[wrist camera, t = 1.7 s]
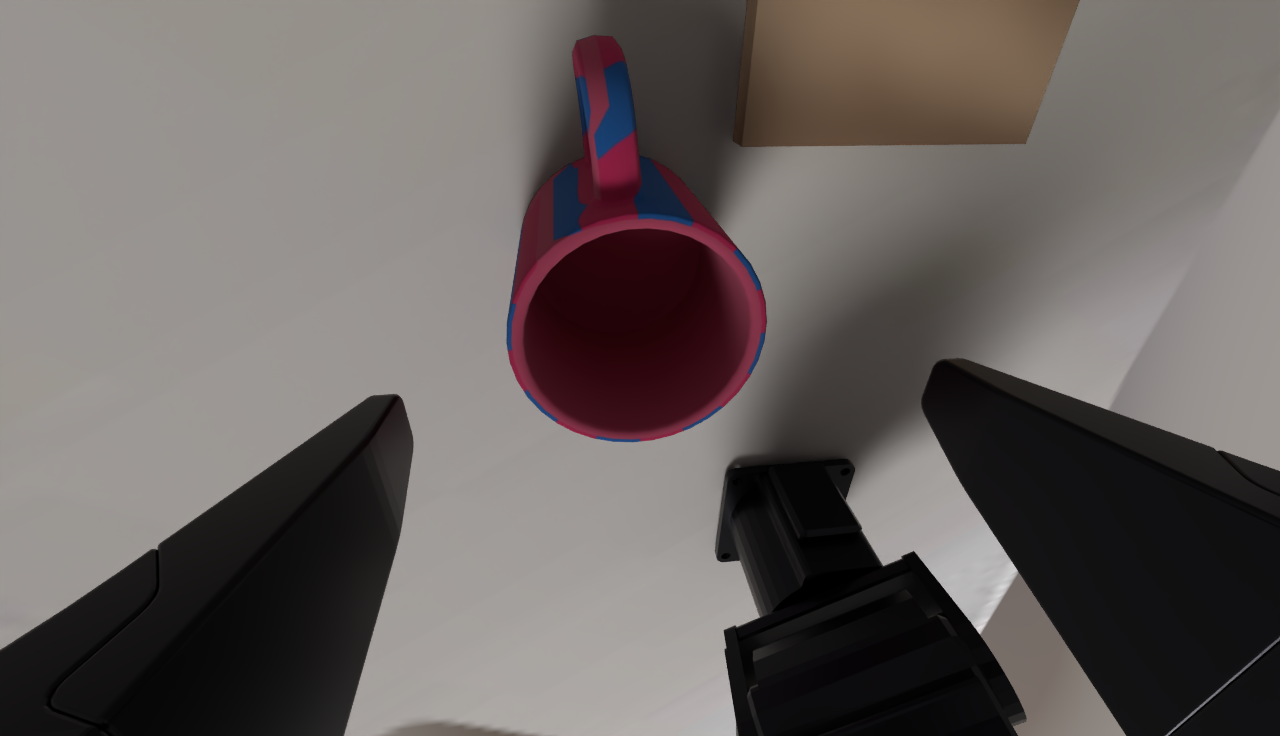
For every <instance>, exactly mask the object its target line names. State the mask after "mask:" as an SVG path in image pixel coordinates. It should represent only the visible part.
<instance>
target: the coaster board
mask: <svg viewBox="0 0 1280 736" xmlns="http://www.w3.org/2000/svg"><path fill="white" fill-rule="evenodd" d="M1079 1H1080V0H747V8H746V18H745V28H744V38H743V48H742V58H741V68H740V78H739V87H738V97H737V107H736V117H735V127H734V137H733V141H734V142H735V143H737V144H738V145H740V146H742V147H763V146H856V145H949V144H1026V141H1027V139H1028V136H1029V133H1030V131H1031V128H1032V125H1033V123H1034V120H1035V117H1036V115H1037V112H1038V109H1039V107H1040V104H1041V101H1042V99H1043V96H1044V93H1045V91H1046V88H1047V86H1048V83H1049V80H1050V78H1051V75H1052V72H1053V70H1054V67H1055V64H1056V62H1057V59H1058V56H1059V54H1060V51H1061V48H1062V46H1063V43H1064V40H1065V38H1066V35H1067V33H1068V30H1069V27H1070V25H1071V22H1072V19H1073V17H1074V14H1075V11H1076V9H1077V6H1078V3H1079Z"/></svg>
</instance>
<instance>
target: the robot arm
mask: <svg viewBox="0 0 1280 736" xmlns="http://www.w3.org/2000/svg"><path fill="white" fill-rule="evenodd" d="M921 405H922V410H923V413H924V415H925V416H926V418H927V420H928V422H929V424H930V426H931V428H932V430H933V432H934V434H935V436H936V438H937V440H938V441H939V443H940V445H941V447H942V449H943V451H944V453H945V455H946V457H947V459H948V461H949V463H950V464H951V466H952V468H953V470H954V472H955V474H956V476H957V477H958V479H959V481H960V483H961V484H962V486H963V488H964V489H965V491H966V492H967V494H968V496H969V497H970V499H971V500H972V502H973V503H974V505H975V506H976V508H977V509H978V511H979V512H980V514H981V515H982V517H983V518H984V520H985V521H986V523H987V524H988V526H989V528H990V529H991V531H992V532H993V534H994V535H995V537H996V538H997V540H998V541H999V543H1000V544H1001V546H1002V547H1003V549H1004V550H1005V552H1006V553H1007V555H1008V556H1009V558H1010V559H1011V561H1012V562H1013V564H1014V566H1015V567H1016V569H1017V570H1018V572H1019V573H1020V575H1021V576H1022V578H1023V579H1024V581H1025V582H1026V584H1027V585H1028V587H1029V588H1030V590H1031V591H1032V593H1033V594H1034V596H1035V597H1036V599H1037V601H1038V602H1039V603H1040V605H1041V607H1042V608H1043V610H1044V611H1045V613H1046V614H1047V616H1048V617H1049V619H1050V620H1051V622H1052V623H1053V625H1054V626H1055V628H1056V629H1057V631H1058V632H1059V634H1060V635H1061V637H1062V639H1063V640H1064V641H1065V643H1066V645H1067V646H1068V648H1069V649H1070V651H1071V652H1072V653H1073V655H1074V657H1075V658H1076V660H1077V661H1078V663H1079V664H1080V666H1081V667H1082V669H1083V670H1084V672H1085V673H1086V675H1087V676H1088V678H1089V680H1090V681H1091V683H1092V684H1093V686H1094V687H1095V689H1096V690H1097V692H1098V693H1099V695H1100V696H1101V698H1102V699H1103V701H1104V702H1105V704H1106V705H1107V707H1108V708H1109V710H1110V711H1111V713H1112V714H1113V716H1114V718H1115V719H1116V721H1117V722H1118V724H1119V725H1120V727H1121V728H1122V730H1123V731H1124V733H1125V734H1126V736H1280V471H1278V470H1275V469H1272V468H1269V467H1267V466H1263V465H1261V464H1258V463H1255V462H1252V461H1249V460H1246V459H1244V458H1241V457H1238V456H1235V455H1232V454H1230V453H1227V452H1224V451H1216V450H1215V449H1214V448H1212V447H1210V446H1207V445H1204V444H1202V443H1198V442H1195V441H1193V440H1190V439H1188V438H1185V437H1182V436H1179V435H1176V434H1173V433H1171V432H1168V431H1165V430H1162V429H1160V428H1156V427H1154V426H1151V425H1148V424H1146V423H1142V422H1140V421H1137V420H1134V419H1131V418H1129V417H1126V416H1123V415H1120V414H1118V413H1115V412H1112V411H1109V410H1106V409H1104V408H1101V407H1098V406H1095V405H1092V404H1090V403H1087V402H1084V401H1081V400H1078V399H1076V398H1073V397H1070V396H1067V395H1064V394H1062V393H1059V392H1056V391H1053V390H1050V389H1048V388H1045V387H1042V386H1039V385H1036V384H1034V383H1031V382H1028V381H1025V380H1022V379H1020V378H1017V377H1014V376H1011V375H1008V374H1006V373H1003V372H1000V371H997V370H994V369H992V368H989V367H986V366H983V365H980V364H978V363H975V362H972V361H969V360H966V359H962V358H955V359H942V360H939V361H937V362H936V364H935V365H934V366H933V368H932V371H931V374H930V376H929V379H928V382H927V384H926V387H925V390H924V393H923V395H922V400H921ZM412 455H413V435H412V431H411V428H410V424H409V420H408V417H407V413H406V410H405V406H404V403H403V400H402V398H401V397H400V396H399V395H397V394H388V395H373V396H370V397H369V398H367V399H366V400H364V401H363V402H361V403H360V404H358V405H357V406H356V407H354V408H353V409H351V410H350V411H348V412H347V413H346V414H344V415H343V416H341V417H340V418H338V419H337V420H336V421H334V422H333V423H331V424H330V425H328V426H327V427H326V428H324V429H323V430H321V431H320V432H318V433H317V434H316V435H314V436H313V437H311V438H310V439H308V440H307V441H306V442H304V443H303V444H301V445H300V446H298V447H297V448H296V449H294V450H293V451H291V452H290V453H288V454H287V455H286V456H284V457H283V458H281V459H280V460H278V461H277V462H276V463H274V464H273V465H271V466H270V467H268V468H267V469H266V470H264V471H263V472H261V473H260V474H258V475H257V476H256V477H254V478H253V479H251V480H250V481H248V482H247V483H246V484H244V485H243V486H241V487H240V488H238V489H237V490H236V491H234V492H233V493H231V494H230V495H228V496H227V497H226V498H224V499H223V500H221V501H220V502H218V503H217V504H216V505H214V506H213V507H211V508H210V509H208V510H207V511H206V512H204V513H203V514H201V515H200V516H198V517H197V518H196V519H194V520H193V521H191V522H190V523H188V524H187V525H186V526H184V527H183V528H181V529H180V530H178V531H177V532H176V533H174V534H173V535H171V536H170V537H168V538H167V539H166V540H164V541H163V542H161V543H160V544H159V545H158V550H157V549H151V550H150V551H148V552H147V553H145V554H144V555H143V556H141V557H140V558H138V559H137V560H135V561H134V562H133V563H131V564H130V565H128V566H127V567H125V568H124V569H123V570H121V571H120V572H118V573H117V574H115V575H114V576H112V577H111V578H109V579H108V580H106V581H105V582H104V583H102V584H101V585H99V586H98V587H96V588H95V589H93V590H92V591H90V592H89V593H87V594H86V595H84V596H83V597H81V598H80V599H78V600H77V601H76V602H74V603H73V604H71V605H70V606H68V607H67V608H65V609H64V610H62V611H60V612H59V613H57V614H56V615H54V616H53V617H51V618H50V619H48V620H46V621H45V622H43V623H42V624H40V625H39V626H37V627H35V628H34V629H32V630H31V631H29V632H28V633H26V634H25V635H23V636H21V637H20V638H18V639H17V640H15V641H14V642H12V643H10V644H9V645H7V646H6V647H4V648H3V649H1V650H0V736H344V734H345V730H346V727H347V723H348V719H349V716H350V712H351V709H352V705H353V702H354V698H355V695H356V691H357V688H358V684H359V680H360V677H361V673H362V670H363V666H364V663H365V659H366V656H367V652H368V649H369V645H370V642H371V638H372V634H373V631H374V627H375V624H376V620H377V617H378V613H379V610H380V606H381V603H382V599H383V595H384V592H385V588H386V585H387V581H388V578H389V574H390V571H391V567H392V564H393V560H394V556H395V553H396V549H397V545H398V541H399V537H400V533H401V527H402V521H403V515H404V508H405V502H406V495H407V488H408V482H409V475H410V468H411V462H412ZM854 472H855V468H854V466H853V465H852V463H851V462H850V460H848V459H837V460H825V461H813V462H802V463H790V464H779V465H767V466H755V467H744V468H735V469H732V470H730V471H728V472H727V473H726V476H725V481H724V489H723V496H722V503H721V511H720V518H719V525H718V532H717V540H716V547H715V554H716V557H717V560H718V561H720V562H730V561H739V560H740V562H741V565H742V567H743V570H744V573H745V576H746V579H747V582H748V585H749V588H750V590H751V593H752V596H753V599H754V602H755V605H756V608H757V611H758V613H759V616H760V618H758V619H755V620H753V621H750V622H748V623H746V624H743V625H741V626H738V627H736V626H732V627H730V628H728V629H725V630H724V636H725V642H726V649H725V657H726V663H727V669H728V675H729V681H730V687H731V693H732V699H733V705H734V712H735V718H736V736H1018V735H1017V733H1016V731H1015V730H1014V728H1013V726H1015V725H1018V724H1021V723H1024V722H1026V719H1027V718H1026V715H1025V712H1024V709H1023V707H1022V705H1021V703H1020V701H1019V699H1018V697H1017V695H1016V693H1015V691H1014V689H1013V687H1012V685H1011V684H1010V682H1009V680H1008V678H1007V677H1006V675H1005V673H1004V672H1003V670H1002V668H1001V666H1000V665H999V663H998V662H997V660H996V658H995V657H994V655H993V654H992V652H991V651H990V649H989V647H988V646H987V644H986V643H985V642H984V640H983V639H982V637H981V636H980V634H979V633H978V632H977V630H976V629H975V628H974V626H973V625H972V624H971V622H970V621H969V620H968V618H967V617H966V616H965V615H964V613H963V612H962V611H961V610H960V608H959V607H958V606H957V605H956V603H955V602H954V601H953V600H952V598H951V597H950V596H949V594H948V593H947V592H946V591H945V589H944V588H943V587H942V586H941V584H940V583H939V582H938V581H937V579H936V578H935V577H934V576H933V574H932V573H931V572H930V571H929V569H928V568H927V567H926V566H925V564H924V563H923V562H922V561H921V559H920V558H919V557H918V556H917V554H916V553H915V552H914V551H913V552H910V553H908V554H905V555H903V556H901V557H902V559H900V560H897V561H895V562H892V563H890V564H888V565H885V566H883V565H882V563H881V561H880V560H879V558H878V557H877V555H876V553H875V552H874V550H873V548H872V547H871V545H870V543H869V542H868V540H867V538H866V537H865V535H864V534H863V532H862V527H861V525H860V523H859V522H858V520H857V518H856V517H855V515H854V513H853V512H852V510H851V508H850V507H849V505H848V504H847V502H846V497H847V494H848V491H849V488H850V484H851V481H852V478H853V475H854ZM735 478H738V479H735ZM734 479H735V480H734Z"/></svg>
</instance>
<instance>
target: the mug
mask: <svg viewBox="0 0 1280 736" xmlns="http://www.w3.org/2000/svg"><path fill="white" fill-rule="evenodd" d="M572 57H573V66H574V73H575V80H576V87H577V93H578V101H579V108H580V116H581V124H582V134H583V146H584V154H585V157H584V158H582V159H579V160H577V161H575V162H573V163H570V164H568V165H567V166H565V167H564V168H562V169H561V170H559V171H558V172H556V173H555V174H554V175H552V176H551V177H550V178H549V179H548V180H547V181H546V182H545V184H544V185H543V186H542V187H541V188H540V189H539V191H538V192H537V194H536V195H535V197H534V198H533V199H532V201H531V203H530V205H529V208H528V210H527V212H526V214H525V217H524V221H523V225H522V230H521V235H520V241H519V248H518V254H517V261H516V267H515V274H514V280H513V287H512V293H511V300H510V307H509V313H508V320H507V348H508V354H509V360H510V364H511V366H512V369H513V371H514V374H515V376H516V379H517V381H518V383H519V384H520V386H521V388H522V389H523V391H524V392H525V394H526V395H527V397H528V398H529V399H530V400H531V401H532V402H533V403H534V404H535V405H536V407H537V408H538V409H539V410H540V411H541V412H543V413H544V414H545V415H547V416H548V417H549V418H551V419H552V420H553V421H555V422H556V423H558V424H560V425H562V426H564V427H565V428H567V429H569V430H571V431H573V432H576V433H579V434H582V435H585V436H588V437H591V438H595V439H601V440H607V441H612V442H638V441H648V440H655V439H659V438H663V437H667V436H671V435H674V434H677V433H679V432H682V431H684V430H687V429H689V428H692V427H693V426H695V425H697V424H699V423H701V422H702V421H704V420H706V419H708V418H709V417H711V416H712V415H713V414H715V413H716V412H717V411H719V410H720V409H721V408H723V407H724V406H725V405H726V404H727V403H728V402H729V401H730V400H731V399H732V398H733V397H734V396H735V395H736V394H737V393H738V392H739V390H740V389H741V388H742V386H743V385H744V384H745V382H746V381H747V380H748V378H749V377H750V375H751V373H752V371H753V369H754V367H755V365H756V363H757V361H758V359H759V356H760V353H761V350H762V347H763V344H764V340H765V332H766V324H767V316H766V302H765V298H764V295H763V291H762V287H761V284H760V281H759V279H758V277H757V275H756V273H755V271H754V269H753V267H752V266H751V264H750V262H749V261H748V260H747V259H746V257H745V256H744V255H743V254H742V253H741V251H740V250H739V249H738V248H737V246H736V245H735V244H734V243H733V242H732V240H731V239H730V238H729V237H728V235H727V234H726V233H725V232H724V231H723V229H722V228H721V227H720V226H719V225H718V223H717V222H716V221H715V220H714V218H713V217H712V216H711V215H710V214H709V212H708V211H707V210H706V209H705V208H704V206H703V205H702V204H701V203H700V201H699V200H698V199H697V198H696V197H695V195H694V194H693V193H692V192H691V190H690V189H689V188H688V187H687V186H686V184H685V183H684V182H683V181H682V180H681V179H680V178H679V177H678V176H677V175H676V174H674V173H673V172H672V171H671V170H670V169H668V168H667V167H665V166H663V165H661V164H659V163H658V162H656V161H654V160H651V159H648V158H645V157H642V156H639V149H638V140H637V130H636V121H635V113H634V104H633V98H632V91H631V84H630V79H629V74H628V69H627V65H626V61H625V57H624V54H623V52H622V49H621V47H620V46H619V44H618V43H617V42H616V40H615V39H614V38H613V36H596V35H593V36H590V37H587V38H583V39H580V40H577V41H576V44H575V46H574V48H573V51H572Z"/></svg>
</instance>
